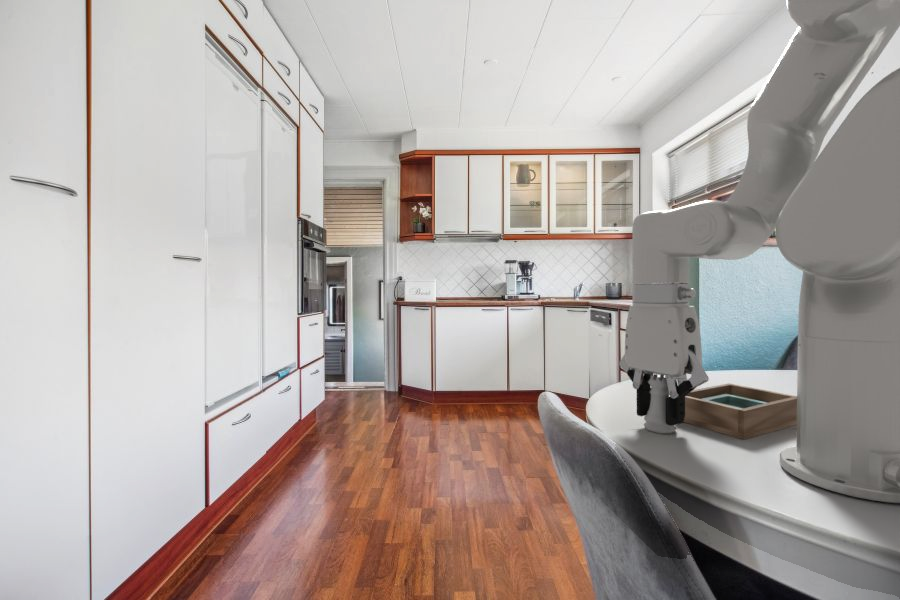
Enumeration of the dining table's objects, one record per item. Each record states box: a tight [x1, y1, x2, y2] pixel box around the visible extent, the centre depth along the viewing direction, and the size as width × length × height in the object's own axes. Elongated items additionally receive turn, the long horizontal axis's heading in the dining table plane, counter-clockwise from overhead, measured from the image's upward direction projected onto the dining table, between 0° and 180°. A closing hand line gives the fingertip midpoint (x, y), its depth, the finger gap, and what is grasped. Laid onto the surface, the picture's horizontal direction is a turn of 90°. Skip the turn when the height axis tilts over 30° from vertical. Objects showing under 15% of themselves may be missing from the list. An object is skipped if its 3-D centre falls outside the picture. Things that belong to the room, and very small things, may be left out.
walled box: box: [683, 382, 797, 441], centre depth 69 cm, size 11×15×4 cm
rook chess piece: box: [643, 374, 677, 435], centre depth 65 cm, size 4×4×8 cm
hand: (659, 417), depth 65 cm, fingers closed on rook chess piece, 4 cm apart
